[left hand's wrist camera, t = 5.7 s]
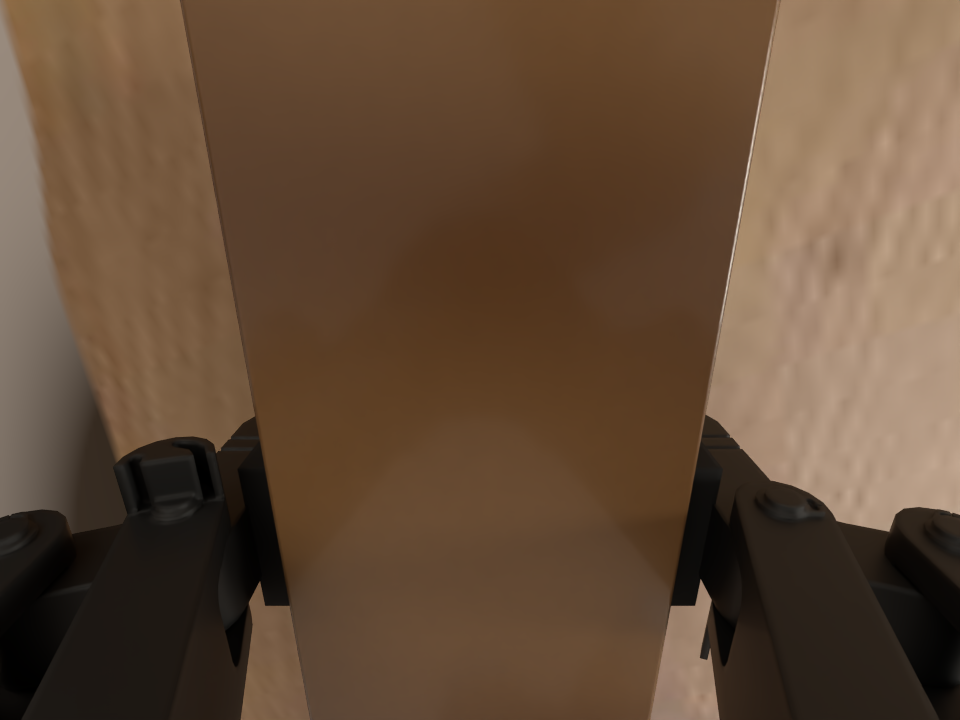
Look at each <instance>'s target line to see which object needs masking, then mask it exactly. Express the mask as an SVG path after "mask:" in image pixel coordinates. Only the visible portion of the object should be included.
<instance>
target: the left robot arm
mask: <svg viewBox="0 0 960 720" xmlns="http://www.w3.org/2000/svg"><path fill="white" fill-rule="evenodd" d="M113 469H114V472H115V475H116V478H117V482H118V485H119V488H120V491H121V495H122V498H123V501H124V504H125V508H126V511H127V514H128V515H127V517H126V518H125V520H124V522H123V524H120V525H116V526H111V527H106V528H101V529H96V530H91V531H85V532H80V533H75V534H72V533H71V530H70V527H69V525H68V522H67V519H66V517H65V516H64V515H62V514H61V513H59V512H58V511H52V510H35V511H28V512H19V513H15V514H12V515H11V516H9V515H8V516H5V517H2V518H0V720H240V719H241V711H242V704H243V696H244V688H245V680H246V673H247V665H248V657H249V649H250V641H251V634H252V626H253V623H252V616H251V611H250V606H249V601H250V599H251V597H252V595H253V593H254V591H255V589H256V587H257V585H258V583H259V581H260V582H261V587H262V592H263V597H264V602H265V606H290V605H289V599H288V593H287V588H286V582H285V577H284V571H283V566H282V560H281V555H280V549H279V544H278V538H277V533H276V527H275V522H274V516H273V511H272V505H271V500H270V494H269V488H268V483H267V477H266V472H265V466H264V461H263V455H262V450H261V444H260V439H259V433H258V428H257V422H256V417H253V418H252V419H250V420H248V421H246V422H245V423H243V424H242V425H241V426H240V427H239V429H238V430H237V431H236V432H235V433H234V434H233V435H232V436H231V440H228V441H227V442H226V443H225V444H224V445H223V447H222V448H221V451H218V452H217V453H216V451H215V447H214V444H213V443H211V442H210V441H208V440H207V439H203V438H198V437H175V438H171V439H166V440H161V441H157V442H154V443H151V444H148V445H146V446H143V447H140V448H138V449H136V450H134V451H132V452H131V453H129V454H127V455H126V456H124V457H122V458H121V459H120V460H119V461H118V462H117V463H116V464H115V465H114V466H113ZM700 579H701V580H702V582H703V584H704V586H705V588H706V590H707V592H708V593H709V595H710V597H711V599H712V602H711V606H710V611H709V615H708V620H707V625H706V629H705V634H704V638H703V643H702V648H701V654H700V658H702V659H706V660H707V658H708V654H709V650H710V648H711V656H712V663H713V671H714V679H715V687H716V694H717V702H718V710H719V718H720V720H960V515H958V514H955V513H952V514H951V513H950V512H948V511H944V510H939V509H937V510H936V509H929V508H921V507H916V508H906V509H903V510H901V511H900V512H898V513H897V514H896V515H895V518H894V521H893V523H892V526H891V529H890V532H887V531H882V530H877V529H872V528H867V527H861V526H856V525H851V524H846V523H842V522H838V521H836V519H835V517H834V516H833V514H832V512H831V511H830V510H829V509H828V508H827V507H826V505H825V504H824V503H823V502H821V501H820V500H818V499H817V498H815V497H814V496H813V495H811V494H810V493H808V492H805V491H803V490H801V489H798V488H796V487H794V486H791V485H787V484H783V483H779V482H775V481H770V480H769V478H768V477H767V476H766V475H765V474H764V473H763V472H762V471H761V470H760V468H759V467H758V466H757V465H756V464H755V463H754V462H753V461H752V459H751V458H750V457H749V456H748V455H747V454H746V453H745V452H744V451H743V449H740V446H739V445H738V444H737V443H736V442H735V440H734V439H733V438H730V435H729V434H728V433H727V432H726V430H725V429H724V428H723V427H722V426H721V425H720V424H719V423H718V422H717V421H716V420H714V419H712V418H710V417H709V416H707V415H705V420H704V425H703V431H702V436H701V442H700V447H699V453H698V458H697V464H696V469H695V475H694V480H693V486H692V491H691V497H690V502H689V508H688V513H687V519H686V524H685V530H684V535H683V541H682V546H681V552H680V557H679V563H678V568H677V574H676V579H675V585H674V590H673V596H672V601H671V606H695V604H696V599H697V594H698V589H699V584H700Z"/></svg>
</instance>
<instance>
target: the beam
mask: <svg viewBox="0 0 960 720" xmlns="http://www.w3.org/2000/svg"><path fill="white" fill-rule="evenodd" d="M780 1H781V0H180V2H181V8H182V13H183V19H184V24H185V30H186V35H187V41H188V46H189V52H190V58H191V63H192V69H193V74H194V80H195V85H196V91H197V96H198V102H199V107H200V113H201V118H202V124H203V129H204V135H205V140H206V146H207V151H208V157H209V162H210V168H211V174H212V179H213V185H214V190H215V196H216V201H217V207H218V212H219V218H220V223H221V229H222V234H223V240H224V245H225V251H226V256H227V262H228V267H229V273H230V279H231V284H232V290H233V295H234V301H235V306H236V312H237V317H238V323H239V328H240V334H241V339H242V345H243V350H244V356H245V361H246V367H247V372H248V378H249V383H250V389H251V395H252V400H253V406H254V411H255V417H256V422H257V428H258V433H259V439H260V444H261V450H262V455H263V461H264V466H265V472H266V477H267V483H268V488H269V494H270V500H271V505H272V511H273V516H274V522H275V527H276V533H277V538H278V544H279V549H280V555H281V560H282V566H283V571H284V577H285V582H286V588H287V593H288V599H289V605H290V610H291V616H292V621H293V627H294V632H295V638H296V643H297V649H298V654H299V660H300V665H301V671H302V676H303V682H304V687H305V693H306V698H307V704H308V709H309V715H310V720H650V717H651V712H652V706H653V701H654V695H655V690H656V684H657V679H658V673H659V668H660V662H661V657H662V651H663V646H664V640H665V634H666V629H667V623H668V618H669V612H670V607H671V601H672V596H673V590H674V585H675V579H676V574H677V568H678V563H679V557H680V552H681V546H682V541H683V535H684V530H685V524H686V519H687V513H688V508H689V502H690V497H691V491H692V486H693V480H694V475H695V469H696V464H697V458H698V453H699V447H700V442H701V436H702V431H703V425H704V420H705V414H706V409H707V403H708V398H709V392H710V387H711V381H712V376H713V370H714V364H715V359H716V353H717V348H718V342H719V337H720V331H721V326H722V320H723V315H724V309H725V304H726V298H727V293H728V287H729V282H730V276H731V271H732V265H733V260H734V254H735V249H736V243H737V238H738V232H739V227H740V221H741V216H742V210H743V205H744V199H745V194H746V188H747V183H748V177H749V172H750V166H751V161H752V155H753V150H754V144H755V139H756V133H757V128H758V122H759V117H760V111H761V106H762V100H763V94H764V89H765V83H766V78H767V72H768V67H769V61H770V56H771V50H772V45H773V39H774V34H775V28H776V23H777V17H778V12H779V6H780Z"/></svg>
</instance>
